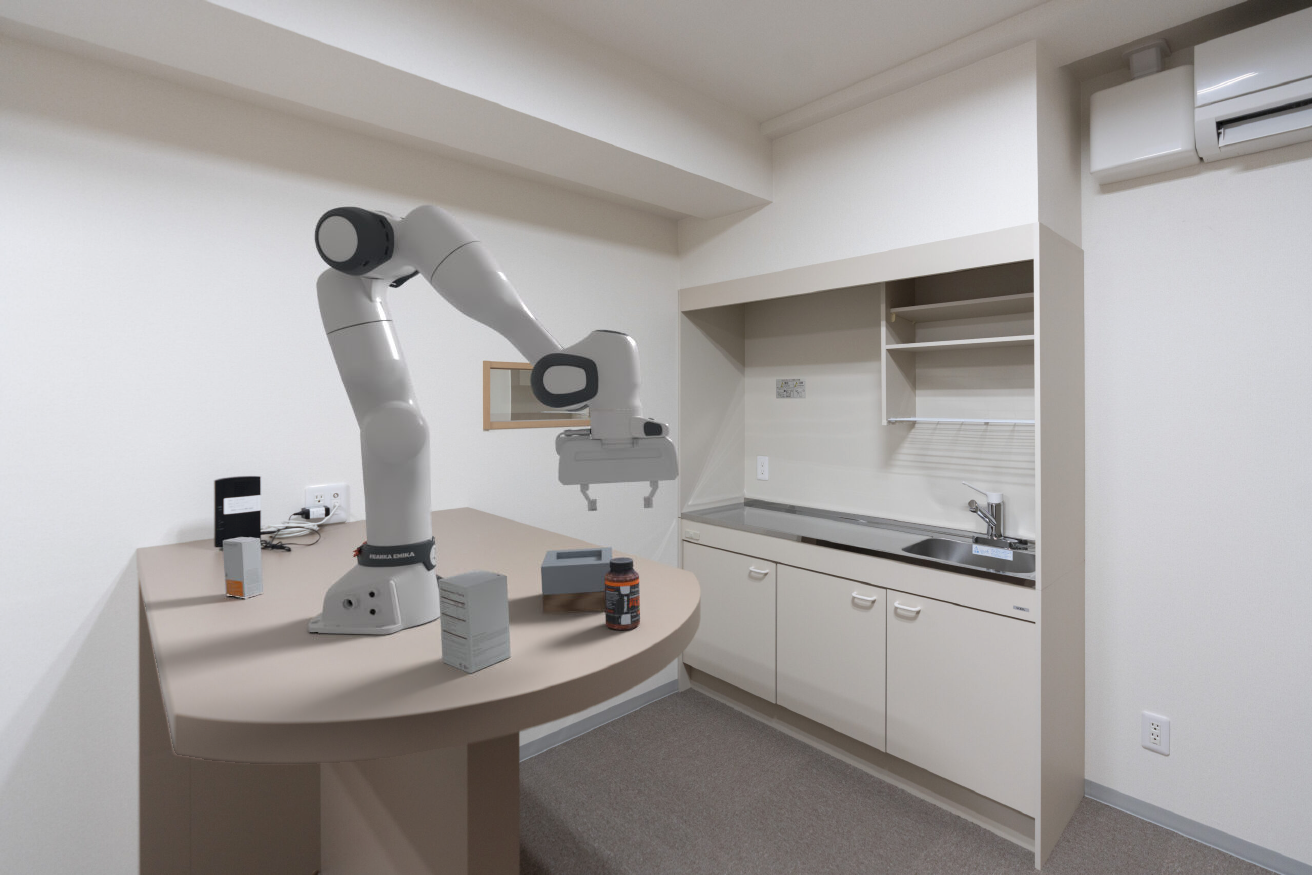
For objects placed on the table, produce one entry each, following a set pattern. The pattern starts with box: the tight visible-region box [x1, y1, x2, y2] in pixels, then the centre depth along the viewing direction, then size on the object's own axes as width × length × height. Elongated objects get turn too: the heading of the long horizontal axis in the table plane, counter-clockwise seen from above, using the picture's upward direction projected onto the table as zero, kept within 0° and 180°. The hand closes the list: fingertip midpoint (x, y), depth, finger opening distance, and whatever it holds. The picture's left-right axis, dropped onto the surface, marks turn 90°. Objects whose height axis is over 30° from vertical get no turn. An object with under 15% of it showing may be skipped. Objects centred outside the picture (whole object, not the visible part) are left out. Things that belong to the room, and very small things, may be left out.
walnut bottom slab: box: [542, 591, 605, 614], centre depth 121 cm, size 13×13×4 cm
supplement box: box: [437, 568, 512, 674], centre depth 93 cm, size 7×7×13 cm
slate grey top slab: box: [540, 546, 613, 596], centre depth 121 cm, size 13×13×5 cm
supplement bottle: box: [604, 556, 641, 631], centre depth 106 cm, size 6×6×11 cm
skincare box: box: [222, 536, 264, 597], centre depth 131 cm, size 6×4×12 cm
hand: (620, 508), depth 106 cm, fingers open, 8 cm apart
